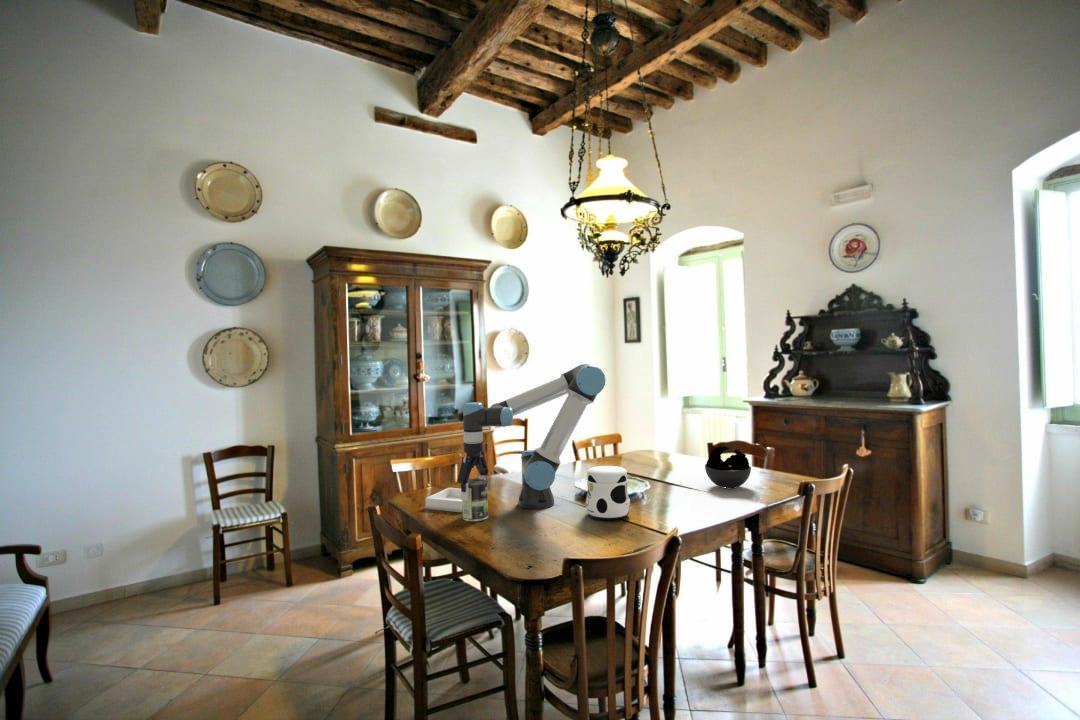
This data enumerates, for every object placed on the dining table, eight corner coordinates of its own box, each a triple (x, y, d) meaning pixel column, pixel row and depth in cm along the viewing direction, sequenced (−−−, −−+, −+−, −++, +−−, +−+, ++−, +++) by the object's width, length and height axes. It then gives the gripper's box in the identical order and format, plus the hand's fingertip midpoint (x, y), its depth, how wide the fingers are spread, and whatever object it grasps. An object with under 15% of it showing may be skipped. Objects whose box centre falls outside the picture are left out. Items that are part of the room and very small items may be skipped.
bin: (484, 500, 236) (484, 490, 236) (463, 512, 219) (462, 501, 219) (449, 497, 243) (448, 487, 242) (425, 508, 226) (425, 498, 226)
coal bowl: (702, 482, 258) (701, 443, 258) (745, 482, 255) (744, 443, 255) (709, 493, 238) (708, 451, 238) (756, 494, 235) (755, 451, 235)
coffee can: (491, 514, 216) (490, 479, 216) (483, 522, 206) (482, 485, 206) (467, 513, 218) (466, 478, 218) (458, 521, 208) (457, 484, 208)
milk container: (578, 513, 214) (577, 468, 214) (615, 507, 221) (614, 463, 221) (599, 525, 199) (598, 477, 198) (639, 518, 205) (638, 471, 205)
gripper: (480, 436, 225) (480, 487, 225) (447, 446, 202) (448, 502, 202) (496, 437, 222) (496, 488, 222) (465, 447, 199) (465, 504, 199)
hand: (473, 495), depth 212 cm, fingers open, 13 cm apart
